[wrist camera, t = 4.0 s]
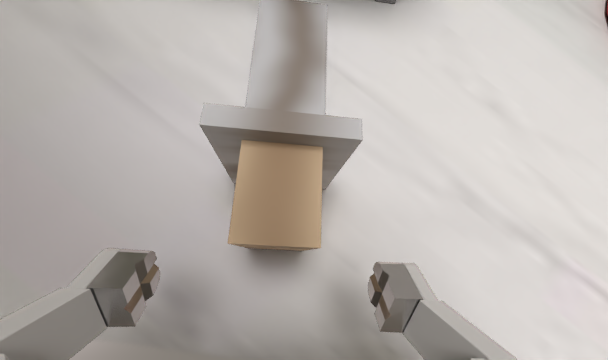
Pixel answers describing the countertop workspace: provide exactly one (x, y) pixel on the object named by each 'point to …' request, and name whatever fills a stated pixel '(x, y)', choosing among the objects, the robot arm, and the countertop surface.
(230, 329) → the countertop surface
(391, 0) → the cabinet
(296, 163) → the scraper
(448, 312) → the robot arm
